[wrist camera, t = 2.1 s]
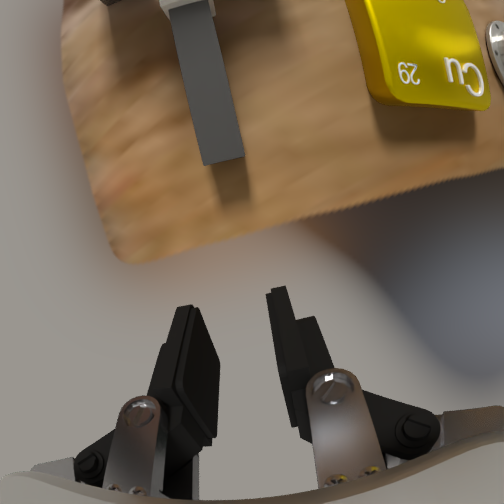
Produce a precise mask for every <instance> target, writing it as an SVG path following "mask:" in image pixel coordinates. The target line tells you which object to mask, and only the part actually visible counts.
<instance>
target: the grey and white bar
mask: <svg viewBox="0 0 504 504" xmlns="http://www.w3.org/2000/svg"><path fill="white" fill-rule="evenodd" d="M159 2H160V7H161V8H162V10H163V11H164V13H165V14H166V16H167V17H168V19H169V21H170V22H171V26H172V31H173V36H174V40H175V45H176V50H177V54H178V59H179V63H180V68H181V73H182V77H183V81H184V86H185V90H186V95H187V99H188V103H189V108H190V112H191V116H192V120H193V124H194V129H195V133H196V137H197V141H198V145H199V149H200V153H201V157H202V161H203V165H204V166H206V165H210V164H214V163H218V162H222V161H226V160H231V159H235V158H239V157H244V156H245V152H244V148H243V144H242V139H241V135H240V130H239V126H238V122H237V117H236V113H235V109H234V105H233V100H232V96H231V92H230V88H229V83H228V79H227V75H226V71H225V67H224V62H223V58H222V54H221V50H220V46H219V42H218V38H217V34H216V30H215V26H214V22H213V18H212V17H214V16H216V12H215V7H214V1H213V0H159Z"/></svg>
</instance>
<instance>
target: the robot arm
mask: <svg viewBox="0 0 504 504" xmlns="http://www.w3.org/2000/svg"><path fill="white" fill-rule="evenodd" d="M486 41H487V47H488V51H489V55H490V58H491V60H492V63H493V66H494V68H495V71H496V73H497V75H498V77H499V79H500V80H501V82H502V84H503V86H504V23H503V22H501V21H493V22H490V23H489V24H488V26H487V29H486ZM266 299H267V305H268V311H269V318H270V324H271V330H272V336H273V342H274V348H275V355H276V361H277V366H278V372H279V377H280V381H281V385H282V390H283V394H284V397H285V402H286V406H287V410H288V414H289V418H290V422H291V427H297V426H298V428H299V433H300V438H302V439H304V440H306V441H308V442H310V443H312V445H313V451H314V459H315V466H316V473H317V481H318V489H317V490H311V491H306V492H301V493H295V494H289V495H282V496H274V497H265V498H256V499H244V500H243V499H242V500H213V501H212V500H209V501H208V500H206V501H205V500H199V454H198V453H199V452H200V451H201V450H202V448H203V446H212V438H216V437H217V422H218V400H219V381H220V361H219V358H218V355H217V353H216V350H215V348H214V345H213V343H212V340H211V338H210V335H209V333H208V330H207V328H206V325H205V323H204V320H203V317H202V315H201V312H200V310H199V308H198V307H196V308H194V307H193V305H186V306H181V307H177V309H176V312H175V315H174V318H173V321H172V325H171V328H170V331H169V334H168V338H167V341H166V343H164V344H162V346H161V348H160V352H159V355H158V358H157V362H156V365H155V368H154V372H153V375H152V379H151V382H150V386H149V390H148V393H147V396H143V395H142V396H138V397H135V398H132V399H130V400H129V401H128V402H126V403H125V404H124V406H123V407H122V408H121V411H120V413H119V416H118V419H117V423H116V427H115V429H114V430H113V431H111V432H110V433H108V434H107V435H105V436H104V437H102V438H101V439H99V440H98V441H96V442H95V443H93V444H92V445H90V446H89V447H87V448H85V449H84V450H83V451H81V452H80V453H79V454H78V455H77V457H76V458H73V457H70V458H65V459H61V460H56V461H51V462H46V463H42V464H37V465H35V466H34V467H33V468H32V469H31V471H23V472H15V473H11V474H8V475H6V476H4V477H3V478H2V479H1V480H0V504H504V407H502V406H488V407H482V408H475V409H466V410H456V411H445V412H443V414H442V415H434V414H432V412H430V411H428V410H426V409H422V408H419V407H415V406H412V405H408V404H405V403H402V402H398V401H395V400H392V399H389V398H385V397H382V396H379V395H376V394H373V393H370V392H367V391H364V390H362V389H361V386H360V383H359V381H358V379H357V377H356V376H355V375H354V374H352V373H351V372H349V371H347V370H344V369H338V368H334V365H333V363H332V360H331V357H330V354H329V352H328V349H327V347H326V344H325V341H324V339H323V336H322V334H321V331H320V328H319V325H318V323H317V320H316V318H315V316H311V317H307V318H303V319H299V320H295V316H294V313H293V309H292V306H291V302H290V299H289V296H288V292H287V289H286V286H281V287H277V288H272V289H271V293H268V294H266Z"/></svg>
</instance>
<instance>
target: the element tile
mask: <svg viewBox="0 0 504 504" xmlns="http://www.w3.org/2000/svg"><path fill="white" fill-rule="evenodd" d="M345 2H346V5H347V8H348V12H349V15H350V18H351V22H352V25H353V29H354V32H355V36H356V40H357V44H358V48H359V52H360V56H361V60H362V65H363V69H364V74H365V79H366V84H367V88H368V90H369V92H370V94H371V95H372V97H373V98H374V99H375V100H376V101H377V102H379V103H381V104H384V105H388V106H416V107H432V108H444V109H454V110H467V111H485V110H487V109H488V108H489V106H490V101H491V95H490V89H489V83H488V78H487V73H486V68H485V64H484V60H483V56H482V52H481V48H480V44H479V41H478V38H477V34H476V31H475V28H474V25H473V22H472V19H471V16H470V14H469V11H468V9H467V7H466V5H465V3H464V1H463V0H345Z"/></svg>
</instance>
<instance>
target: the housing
mask: <svg viewBox="0 0 504 504" xmlns="http://www.w3.org/2000/svg"><path fill="white" fill-rule="evenodd" d="M100 1H101V2H103V3H104V4H105V5H106V6H109V5H111V4H114V3H116V2H118V1H120V0H100Z"/></svg>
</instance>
